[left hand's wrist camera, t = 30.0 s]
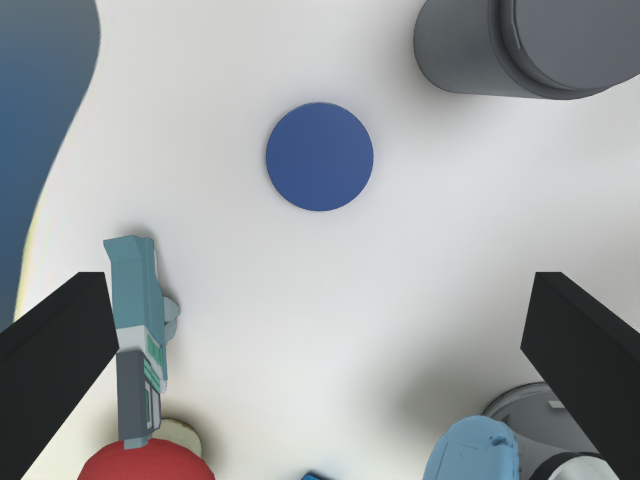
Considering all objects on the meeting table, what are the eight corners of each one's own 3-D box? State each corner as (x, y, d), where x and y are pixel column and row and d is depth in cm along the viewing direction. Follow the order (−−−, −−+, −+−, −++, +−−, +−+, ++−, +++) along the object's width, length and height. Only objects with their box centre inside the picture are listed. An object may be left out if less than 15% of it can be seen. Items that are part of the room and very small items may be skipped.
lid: (256, 187, 42) (253, 193, 40) (285, 87, 39) (283, 87, 37) (350, 217, 43) (351, 224, 41) (386, 122, 40) (389, 124, 38)
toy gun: (161, 427, 45) (105, 454, 35) (151, 256, 49) (100, 238, 39) (193, 423, 45) (146, 448, 35) (181, 251, 49) (136, 232, 39)
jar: (503, -48, 35) (706, -192, 17) (532, 64, 38) (731, 46, 20) (397, 7, 36) (476, -70, 18) (434, 110, 39) (533, 134, 21)
